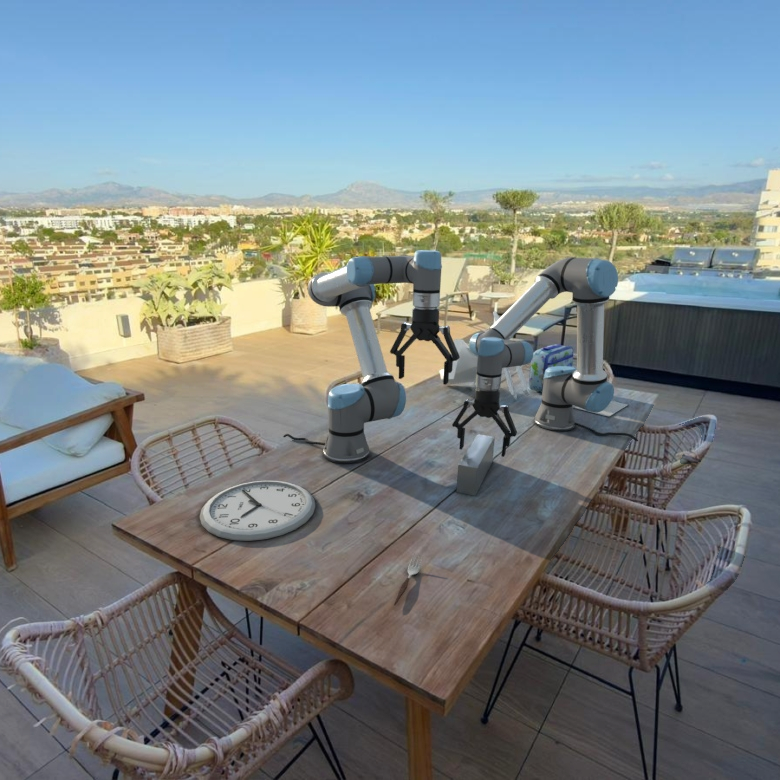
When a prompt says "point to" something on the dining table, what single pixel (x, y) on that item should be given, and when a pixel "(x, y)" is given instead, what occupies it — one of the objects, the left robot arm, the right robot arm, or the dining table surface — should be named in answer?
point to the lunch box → (548, 363)
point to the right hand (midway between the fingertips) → (482, 451)
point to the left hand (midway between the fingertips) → (423, 380)
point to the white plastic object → (467, 367)
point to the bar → (475, 464)
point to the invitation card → (609, 408)
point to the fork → (412, 571)
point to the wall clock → (257, 510)
